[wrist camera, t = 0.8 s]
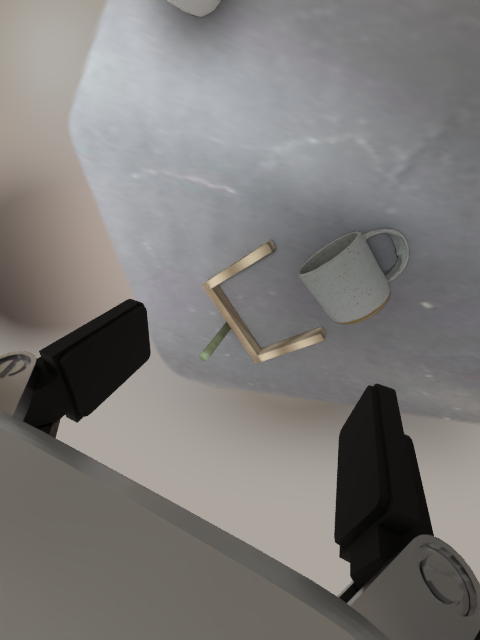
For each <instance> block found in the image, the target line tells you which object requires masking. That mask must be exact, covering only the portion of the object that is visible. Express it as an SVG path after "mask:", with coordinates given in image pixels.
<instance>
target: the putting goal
mask: <svg viewBox="0 0 480 640" xmlns="http://www.w3.org/2000/svg"><path fill="white" fill-rule="evenodd" d="M275 248H276V247H275V246H274V244H273V242H272V241H271V240H270V241H269V242H267V243H265V244H264V245H262V246H261V247H259V248H258V249H256V250H254V251H253V252H251V253H250V254H248V255H247V256H245V257H244V258H242V259H240V260H239V261H237V262H236V263H234V264H233V265H231V266H229V267H228V268H226V269H225V270H223V271H222V272H220V273H218V274H217V275H215V276H214V277H212V278H211V279H209V280H207V281H206V282H205V283H204V284H202V287H203V288H204V290H205V291H206V293H207V294H208V295H209V297H210V298H211V300H212V301H213V303H214V304H215V305H216V307H217V308H218V310H219V311H220V313H221V314H222V316H223V317H224V318H225V320H226V321H227V322H226V323H225V325H224V326H223V327H222V328H221V329H220V331H219V332H218V333H217V334H216V336H215V337H214V338H213V339H212V341H211V342H210V343H209V344H208V346H207V347H206V348H205V349H204V350H203V352H202V353H201V354H200V359H201V360H203V361H207V360H208V359H209V357H210V356H211V355H212V353H213V352H214V351H215V349H216V348H217V346H218V345H219V344H220V342H221V341H222V340H223V338H224V337H225V336H226V334H227V333H228V332H229V330H230V329H232V330H233V331H234V333H235V334H236V336H237V337H238V339H239V340H240V341H241V343H242V344H243V346H244V347H245V349H246V350H247V352H248V353H249V354H250V356H251V357H252V359H253V360H254V362H255V363H258V362H261V361H264V360H268V359H271V358H274V357H277V356H280V355H283V354H286V353H289V352H292V351H295V350H298V349H301V348H304V347H307V346H310V345H313V344H316V343H319V342H322V341H325V334H326V333H325V331H324V330H323V328H322V327H319V328H316V329H314V330H311V331H308V332H305V333H303V334H300V335H297V336H295V337H292V338H289V339H286V340H284V341H281V342H278V343H275V344H273V345H270V346H267V347H264V348H262V349H261V348H260V346H259V345H258V343H257V342H256V340H255V339H254V337H253V336H252V334H251V333H250V331H249V330H248V328H247V327H246V326H245V324H244V323H243V321H242V320H241V318H240V317H239V315H238V314H237V312H236V311H235V309H234V308H233V306H232V305H231V303H230V302H229V300H228V299H227V297H226V296H225V294H224V293H223V291H222V290H221V288H220V287H219V286H218V284H220V283H221V282H223V281H225V280H226V279H228V278H230V277H231V276H233V275H235V274H236V273H238V272H240V271H241V270H243V269H244V268H246V267H248V266H249V265H251V264H253V263H254V262H256V261H258V260H259V259H261V258H263V257H264V256H266V255H268V254H269V253H271V252H272V251H273V250H274V249H275Z"/></svg>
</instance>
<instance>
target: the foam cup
mask: <svg viewBox="0 0 480 640" xmlns="http://www.w3.org/2000/svg"><path fill="white" fill-rule="evenodd" d="M167 1H168V2H170V3H171V4H173V5H175V6H176V7H178V8H180V9H181V10H183V11H184V12H187V13H188V14H191V15H195V16H199V17H203V16H205V15H207V14H209V13H211V12H213V11H214V10H215V9H216V7H217V6H218V4H219V3H220V2H221V0H167Z"/></svg>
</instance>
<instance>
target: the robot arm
mask: <svg viewBox="0 0 480 640" xmlns="http://www.w3.org/2000/svg"><path fill="white" fill-rule="evenodd" d="M39 352H40V355H41V357H40V358H38V359H37V358H36V357H35V355H34V354H32V353H30V352H25V351H24V352H23V351H21V352H12V353H8V354H5V355H2V356H0V640H480V584H479V582H478V580H477V578H476V577H475V575H474V573H473V571H472V570H471V568H470V567H469V566H468V564H467V563H466V562H465V561H464V559H463V558H462V557H461V556H460V555H459V554H458V553H457V552H456V551H455V550H454V549H453V548H452V547H451V546H450V545H448V544H447V543H445V542H444V541H442V540H441V539H439V538H436V537H434V534H433V531H432V526H431V521H430V517H429V512H428V508H427V503H426V499H425V494H424V490H423V485H422V481H421V476H420V472H419V468H418V463H417V458H416V454H415V450H414V445H413V442H412V439H411V438H410V437H409V436H407V435H405V434H404V432H403V426H402V421H401V416H400V411H399V406H398V401H397V396H396V392H395V390H394V389H391V388H388V387H386V386H383V385H380V384H375V385H374V386H370V385H369V386H368V387H367V388H366V390H365V391H364V393H363V395H362V396H361V398H360V400H359V401H358V403H357V404H356V406H355V408H354V409H353V411H352V413H351V414H350V416H349V417H348V419H347V421H346V423H345V424H344V426H343V427H342V429H341V431H340V435H339V449H338V470H337V471H338V472H337V493H336V512H335V533H334V535H335V537H334V538H335V542H336V543H337V544H339V545H340V556H339V557H340V558H342V559H344V560H346V561H348V562H350V576H351V578H352V580H353V581H352V582H351V583H350V584H349V585H348V586H347V587H346V588H345V589H344V590H343V591H342V592H341V593H340V594H339V595H338V596H335V595H334V594H332V593H330V592H329V591H327V590H326V589H324V588H323V587H321V586H319V585H318V584H316V583H315V582H313V581H312V580H310V579H308V578H307V577H305V576H303V575H301V574H300V573H298V572H296V571H295V570H293V569H291V568H289V567H288V566H286V565H284V564H282V563H281V562H279V561H277V560H275V559H274V558H272V557H270V556H268V555H267V554H265V553H263V552H262V551H260V550H258V549H256V548H255V547H253V546H251V545H249V544H247V543H246V542H244V541H242V540H240V539H238V538H236V537H235V536H233V535H231V534H229V533H227V532H226V531H224V530H222V529H220V528H218V527H217V526H215V525H213V524H211V523H209V522H208V521H206V520H204V519H202V518H200V517H199V516H197V515H195V514H193V513H191V512H190V511H188V510H186V509H184V508H182V507H180V506H179V505H177V504H175V503H173V502H171V501H170V500H168V499H166V498H164V497H162V496H160V495H159V494H157V493H155V492H153V491H151V490H149V489H148V488H146V487H144V486H142V485H140V484H138V483H137V482H135V481H133V480H131V479H129V478H128V477H126V476H124V475H122V474H120V473H118V472H117V471H115V470H113V469H111V468H109V467H107V466H106V465H104V464H102V463H100V462H98V461H96V460H94V459H93V458H91V457H89V456H87V455H85V454H83V453H81V452H80V451H78V450H76V449H74V448H72V447H70V446H68V445H67V444H65V443H63V442H61V441H59V440H57V439H56V434H57V430H58V426H59V423H60V419H61V418H62V417H63V416H64V415H65V414H66V417H68V418H69V419H71V420H74V421H75V422H79V421H80V419H82V418H83V417H84V416H88V415H89V414H91V413H92V412H93V411H94V410H95V409H96V408H97V407H98V406H99V405H100V404H101V403H102V402H104V401H105V400H106V399H107V398H108V397H109V396H110V395H111V394H112V393H113V392H114V391H115V390H116V389H117V388H118V387H119V386H121V385H122V384H123V383H124V382H125V381H126V380H127V379H128V378H129V377H130V376H131V375H132V374H133V373H134V372H135V371H137V369H139V368H140V367H141V366H142V365H143V364H144V363H145V362H146V361H147V360H148V359H149V357H150V342H149V331H148V320H147V310H146V308H145V307H144V304H143V303H141V302H138V301H135V300H132V299H128V300H126V301H124V302H123V303H121V304H119V305H118V306H116V307H114V308H112V309H111V310H109V311H108V312H106V313H104V314H102V315H101V316H99V317H97V318H95V319H93V320H92V321H90V322H88V323H87V324H85V325H83V326H81V327H80V328H78V329H76V330H75V331H73V332H71V333H69V334H68V335H66V336H64V337H62V338H61V339H59V340H57V341H56V342H54V343H52V344H50V345H49V346H47V347H46V348H44V349H42V350H40V351H39Z"/></svg>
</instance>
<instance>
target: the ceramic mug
mask: <svg viewBox="0 0 480 640" xmlns="http://www.w3.org/2000/svg"><path fill="white" fill-rule="evenodd" d="M381 233H386V234H388V235H389V236H390V237H391V238H392V241H393V243H394V245H395V248H396V254H397V256H398V260H397V263H396V265H395V266H394V268H393V269H392V270H391V271H390V272H389V273H388V274H387V275H384V274H383V272H382V270H381V269H380V267H379V265H378V263H377V261H376V259H375V257H374V255H373V253H372V251H371V250H370V248H369V246H368V244H367V242H366V240H367V239H368V238H369V237H371V236H374V235H377V234H381ZM408 258H409V247H408V244H407V241H406V239H405V237H404V236H403V235H402V234H401V233H400V232H398V231H396V230H393V229H378V230H373V231H370V232H367V233H365V234H363V235H362V233H361V232H358V231H355V232H352V233H348V234H346V235H344V236H342V237H339V238H338V239H336V240H335V241H333V242H331V243H329V244H328V245H326V246H325V247H323V248H322V249H320V250H319V251H317V252H316V253H315V254H314V255H312V256H311V257H310V258H309V259H308V260H307V261H306V262H305V263H304V264H303V265H302V266H301V268H300V269H299V271H298V277H299V278H300V279H301V281H302V282H303V283H304V285H305V286H306V287H307V288H308V290H309V291H310V292H311V294H312V295H313V296H314V298H315V299H316V300H317V301H318V303H319V304H320V305H321V307H322V308H323V309H324V311H325V312H326V313H327V314H328V316H329V317H331V318H332V319H333V320H334V321H335V322H337V323H339V324H355V323H358V322H361V321H364V320H366V319H368V318H370V317H371V316H373V315H375V314H376V313H377V312H379V311H380V310H381V309H382V308H383V307H384V306H385V305H386V303H387V302H388V300H389V298H390V288H389V284H388V282H390V281H392V280H393V279H395V278H396V277H397V276H398V275H399V274H400V273H401V272H402V271H403V270H404V268H405V267H406V265H407V262H408Z"/></svg>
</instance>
